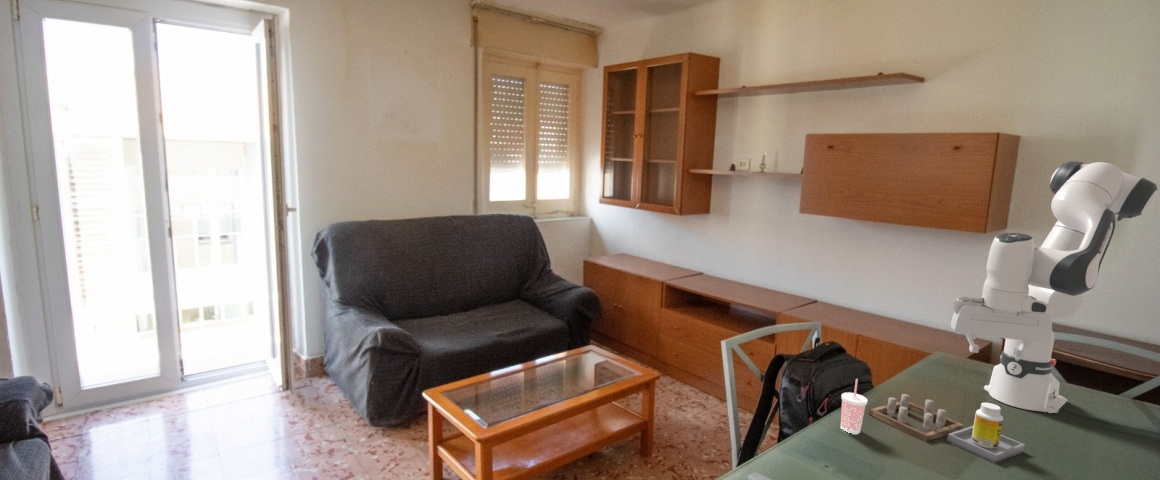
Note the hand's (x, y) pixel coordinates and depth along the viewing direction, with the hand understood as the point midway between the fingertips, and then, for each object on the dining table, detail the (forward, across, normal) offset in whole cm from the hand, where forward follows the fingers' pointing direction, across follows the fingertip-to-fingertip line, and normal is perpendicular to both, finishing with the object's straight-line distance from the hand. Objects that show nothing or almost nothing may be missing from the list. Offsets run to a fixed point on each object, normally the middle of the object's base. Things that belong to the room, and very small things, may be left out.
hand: (995, 354), depth 139 cm
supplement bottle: (+23, 0, -2) cm, 23 cm away
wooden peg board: (+23, -14, +7) cm, 28 cm away
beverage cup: (+23, -32, -4) cm, 40 cm away
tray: (+24, 0, -2) cm, 24 cm away
